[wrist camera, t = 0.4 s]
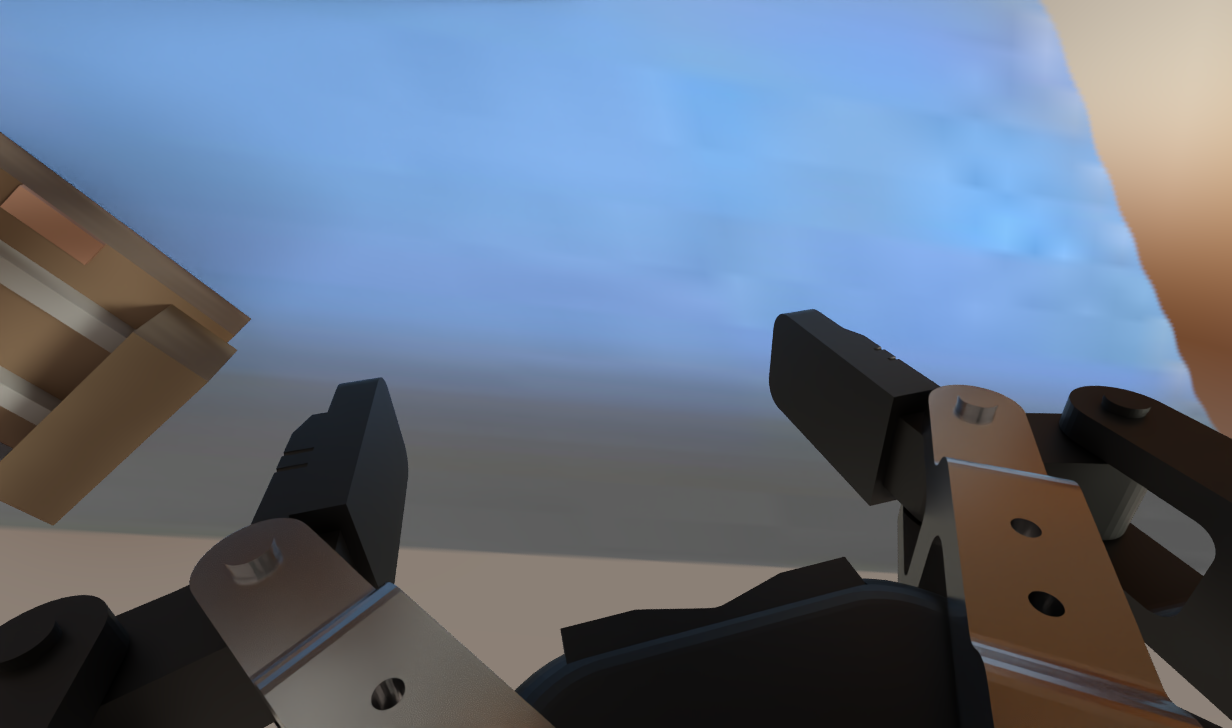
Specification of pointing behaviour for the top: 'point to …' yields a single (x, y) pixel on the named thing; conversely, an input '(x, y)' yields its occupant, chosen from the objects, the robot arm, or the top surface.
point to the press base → (89, 338)
